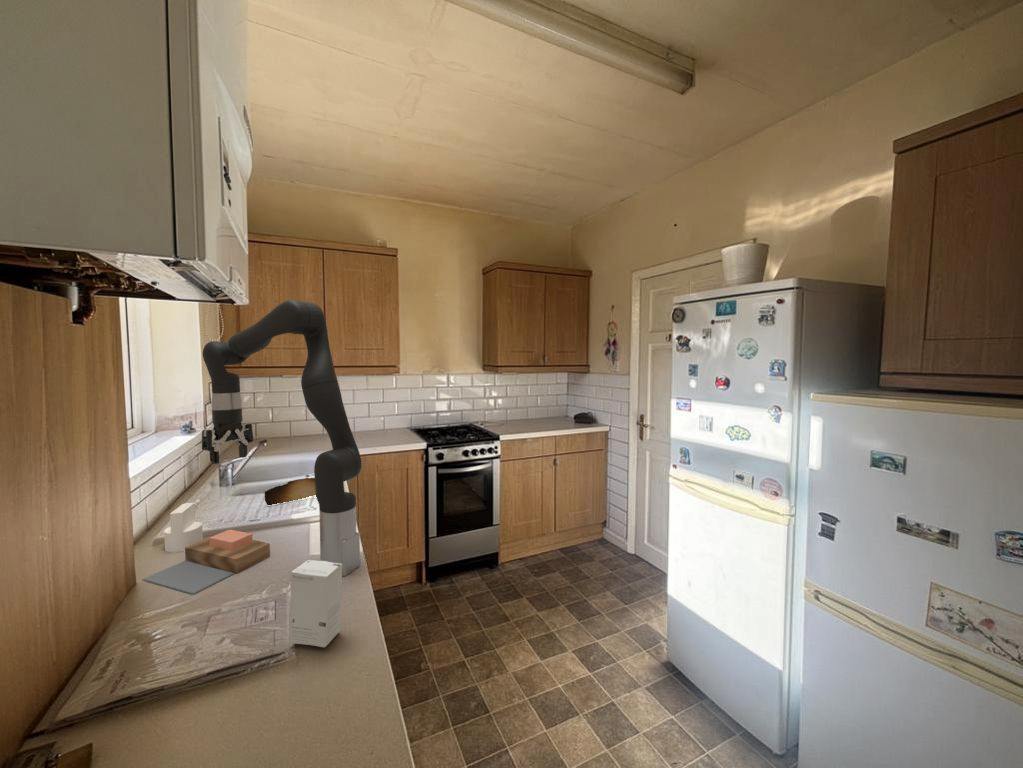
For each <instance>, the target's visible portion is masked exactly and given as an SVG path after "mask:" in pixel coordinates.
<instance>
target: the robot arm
mask: <svg viewBox="0 0 1023 768" xmlns="http://www.w3.org/2000/svg"><path fill="white" fill-rule="evenodd" d="M325 316H326V315H325V313H324V311H323V310H322V308H321V307H320V306H319V305H318V304H316V303H313V302H309V301H303V300H298V299H297V300H296V299H288V300H285V301H283V302H281V303H280V304H278V305H277V306H276V307H274V308H273V309H272V310H271V311H269V313H267V314H266V315H265V316H263V317H262V318H260V319H259V320H258V321H257V322H256V323H254V324H252V325H251V326H249V327H247V328H245V329H242V330H241V331H239V332H237V333H235V334H233V335H232V336H230V338H229V339H228V341H216V340H215V341H209V342H207V343H205V345H204V346H203V349H202V358H203V361H204V364H205V366H206V368H207V372H208V375H209V377H210V380H211V417H212V424H213V428H212V429H203V430H202V431H201V450H202V451H207V452H209V461H210V463H211V464H213V465H217V464H218V465H219V464H220V453H219V452H220V451H219V449H221V448H220V447H221V446H223V445H224V443H225V442H230V441H235V442H237V444H239V445H238V457H239V458H242V459H243V458H246V457H247V456H248V445H249V444H250V443H253V442H254V435H253V434H254V432H253V424H252V423H243V424H242V422H243V403H242V402H243V401H242V396H241V395H242V394H241V381H240V376H239V374H238V373H234V372H229V371H228V370H227V369H226V367H225V366H235V365H239V364H242V363H244V362H246V360H247V359H248V358H249V357H250V356H251V355H254V354H256V353H258V352H260V351H261V350H264V349H265V348H267V347H268V346H269V345H270V344H271V341H272V339H273V338H274V337H278V336H280V335H284V334H291V335H303V337H304V340H305V344H306V350H307V351H306V352H307V358H306V362H305V365H304V369H303V370H302V374H301V379H300V384H301V389H302V390H301V391H302V394H303V398H304V402H305V405H306V407H307V409H308V411H309V412H310V413H311V414H312V416H313V417H314V418H315V420H317V422H318V423H319V424H321V426H322V427H323V428H324V429H325V431H326V432H327V435H328V437H329V439H330V443H331V447H332V449H329V450H327V451H324V452H321V453H320V454H319V455H317V457H316V459H315V463H314V468H313V469H314V470H313V472H314V473H313V474H314V476H313V477H314V478H315V489H316V497H317V498H316V500H317V502H318V506H319V507H318V508H319V510H318V511H319V551H320V552H319V555H320V558H319V559H320V560H319V561H328V562H332V563H340V564H342V577H346V576H347V575H349V574H350V573H352V572H353V571H355V570H356V569H357V568H359V567H360V566H361V553H360V552H361V547H360V546H361V545H360V544H361V543H360V542H361V541H360V540H361V539H360V537H361V536H360V532H358V531H357V497H356V495H355V494H354V493H353V492H347V491H345V484H344V482H346V481H349V480H351V479H354V478H356V477H357V476H358V475H359V474H360V472H361V470H362V463H363V462H362V457H361V454H360V451H359V448H358V445H357V443H356V439H355V437H354V435H353V431H352V430H351V429H352V428H351V427H350V424H349V419H348V415H347V412H346V408H345V405H344V402H343V398H342V391H341V388H340V383H339V380H338V377H337V375H336V374H337V373H336V371H335V366H334V361H333V357H332V354H331V347H330V342H329V336H328V335H329V334H328V329H327V328H328V327H327V321H326V317H325ZM242 431H243V432H242ZM241 432H242V433H243V434H242V433H241Z"/></svg>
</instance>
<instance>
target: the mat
mask: <svg viewBox="0 0 1023 768" xmlns="http://www.w3.org/2000/svg"><path fill="white" fill-rule="evenodd" d="M233 575H234V573H231V572H227V571H223V570H219V569H215V568H212V567H208V566H204V565H200V564H197V563H193V562H189V561H185V560H183V561H181V562H179V563H176V564H174V565H172V566H170V567H167V568H164V569H162V570H160V571H158V572H156V573H153V574H151V575H148V576H147V577H144V578H142V581H144V582H147V583H149V584H150V583H151V584H153V585H157V586H161V587H165V588H168V589H172V590H175V591H179V592H183V593H185V594H188V595H192V596H194V595H196V594H197V593H200V592H202V591H204V590H206V589H208V588H209V587H212V586H214V585H216V584H217V583H220V582H222V581H224V580H226V579H228V578H229V577H231V576H233Z"/></svg>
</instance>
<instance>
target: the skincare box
mask: <svg viewBox="0 0 1023 768" xmlns="http://www.w3.org/2000/svg"><path fill="white" fill-rule="evenodd" d="M290 573H291V577H290V601H289V602H290V604H289V606H290V608H289V609H290V610H289V614H290V615H289V638H288V639H289V644H294V645H295V644H297V645H304V646H305V645H307V646H313V647H314V646H315V647H320V648H326V647H327V646H328V645H329V644H330V642H332V640H333V639H334V638H335V637H336V636H337V635H338V634H339V632H341V626H342V625H341V623H342V620H341V619H342V596H343V594H342V591H343V587H342V585H343V576H342V564H340V563H332V562H328V561H320V560H315V559H314V560H313V559H306V560H305V561H304V562H303V563H302V564H300V565H298V566H297V567H296V568H295V569H293V570H292V571H291V572H290Z"/></svg>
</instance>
